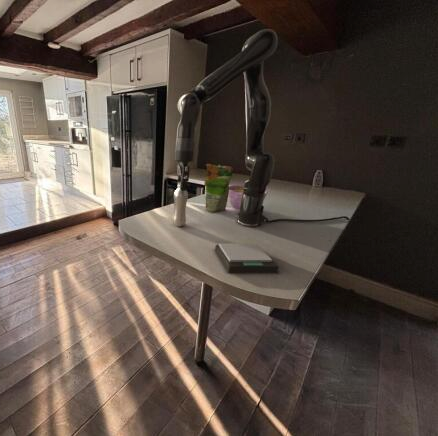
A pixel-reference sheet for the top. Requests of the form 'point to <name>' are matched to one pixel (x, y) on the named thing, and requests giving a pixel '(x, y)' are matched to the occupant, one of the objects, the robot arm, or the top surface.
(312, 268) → the top surface
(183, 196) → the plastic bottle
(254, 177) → the robot arm
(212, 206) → the pouch
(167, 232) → the top surface
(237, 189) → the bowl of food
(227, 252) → the scale
